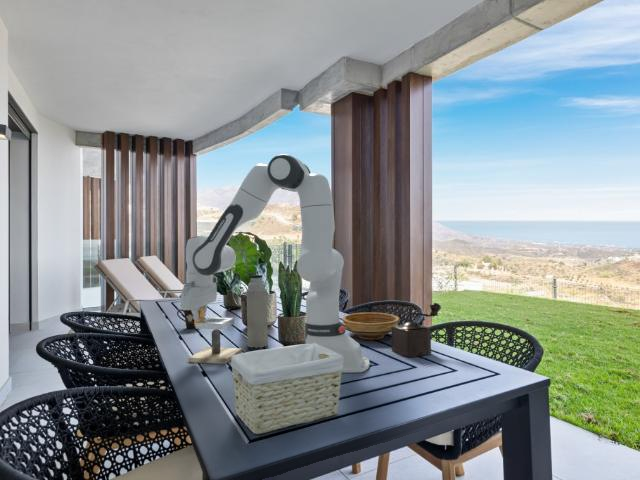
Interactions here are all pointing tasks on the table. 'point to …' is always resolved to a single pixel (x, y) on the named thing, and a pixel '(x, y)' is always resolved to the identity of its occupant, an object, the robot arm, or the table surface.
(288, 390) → the storage basket
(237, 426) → the table surface
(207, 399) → the table surface
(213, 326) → the white holder stand
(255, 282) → the thermos bottle
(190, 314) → the coffee mug
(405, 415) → the table surface
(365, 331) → the ceramic bowl
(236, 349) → the post
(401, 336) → the manual coffee grinder
